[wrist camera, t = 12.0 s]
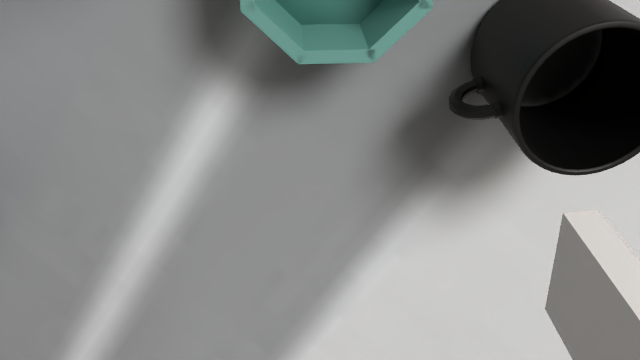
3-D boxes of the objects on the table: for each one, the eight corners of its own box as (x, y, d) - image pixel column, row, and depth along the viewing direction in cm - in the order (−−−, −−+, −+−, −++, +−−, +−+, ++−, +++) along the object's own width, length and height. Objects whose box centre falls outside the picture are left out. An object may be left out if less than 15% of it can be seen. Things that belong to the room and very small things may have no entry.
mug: (420, 12, 40) (455, 64, 32) (605, -43, 39) (687, -3, 31) (444, 135, 45) (479, 205, 37) (608, 89, 44) (680, 152, 36)
